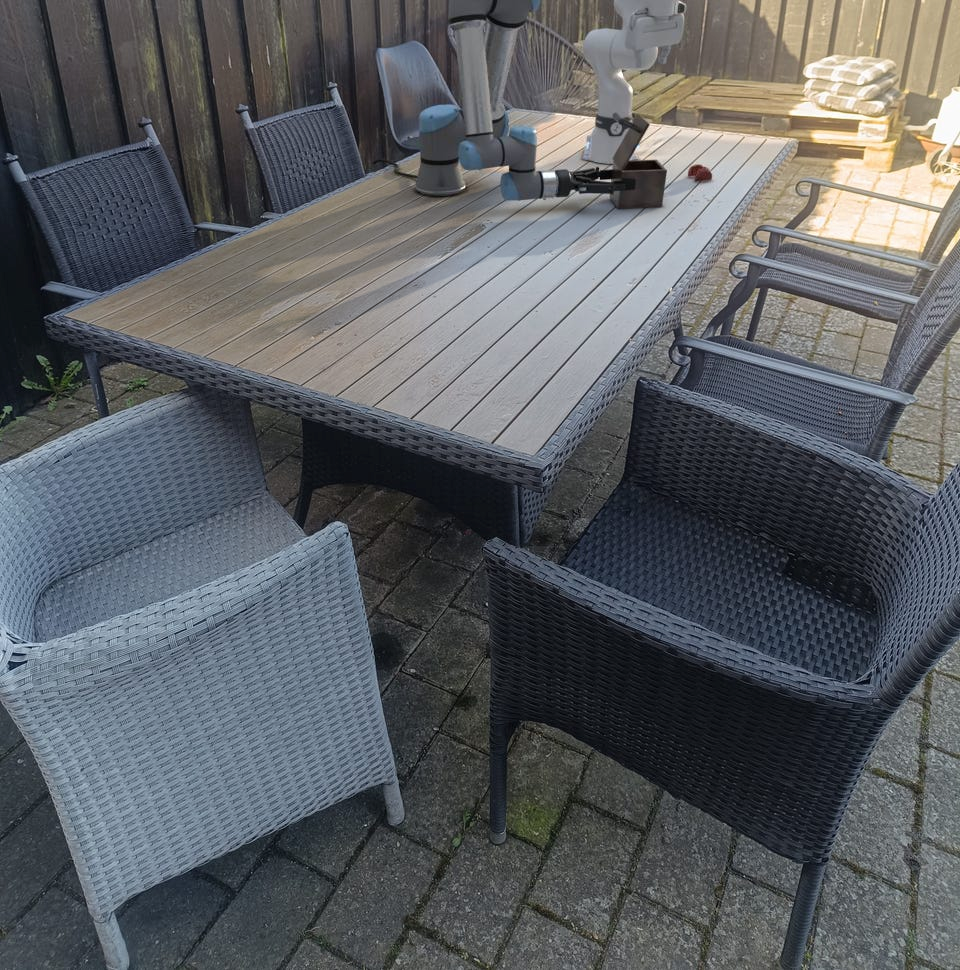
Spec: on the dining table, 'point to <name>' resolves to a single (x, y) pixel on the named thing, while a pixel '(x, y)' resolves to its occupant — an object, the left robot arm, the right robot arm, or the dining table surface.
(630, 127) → the lid
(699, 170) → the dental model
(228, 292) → the dining table surface
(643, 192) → the chest
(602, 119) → the right robot arm
